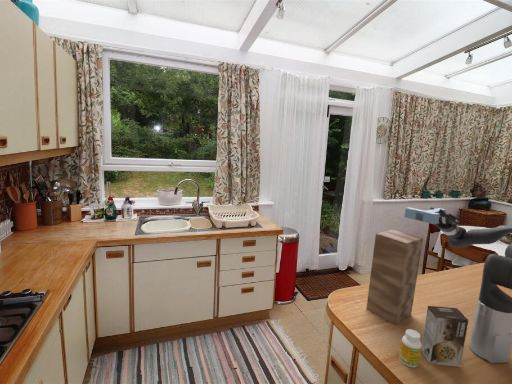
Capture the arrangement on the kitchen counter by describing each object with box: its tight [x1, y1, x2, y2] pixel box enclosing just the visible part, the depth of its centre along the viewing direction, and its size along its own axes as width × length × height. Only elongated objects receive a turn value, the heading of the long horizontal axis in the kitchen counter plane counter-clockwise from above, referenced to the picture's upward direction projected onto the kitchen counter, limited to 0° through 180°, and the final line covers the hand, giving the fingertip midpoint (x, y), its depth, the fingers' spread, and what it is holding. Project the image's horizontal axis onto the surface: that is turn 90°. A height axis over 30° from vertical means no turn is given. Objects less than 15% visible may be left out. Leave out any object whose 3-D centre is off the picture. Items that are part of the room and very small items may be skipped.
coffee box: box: [421, 305, 469, 368], centre depth 89 cm, size 9×6×16 cm
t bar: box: [404, 206, 447, 225], centre depth 122 cm, size 20×12×4 cm, turn 125°
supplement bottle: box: [398, 328, 422, 368], centre depth 88 cm, size 5×5×10 cm
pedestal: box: [366, 229, 424, 325], centre depth 112 cm, size 12×12×32 cm
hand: (435, 210), depth 123 cm, fingers closed on t bar, 3 cm apart
